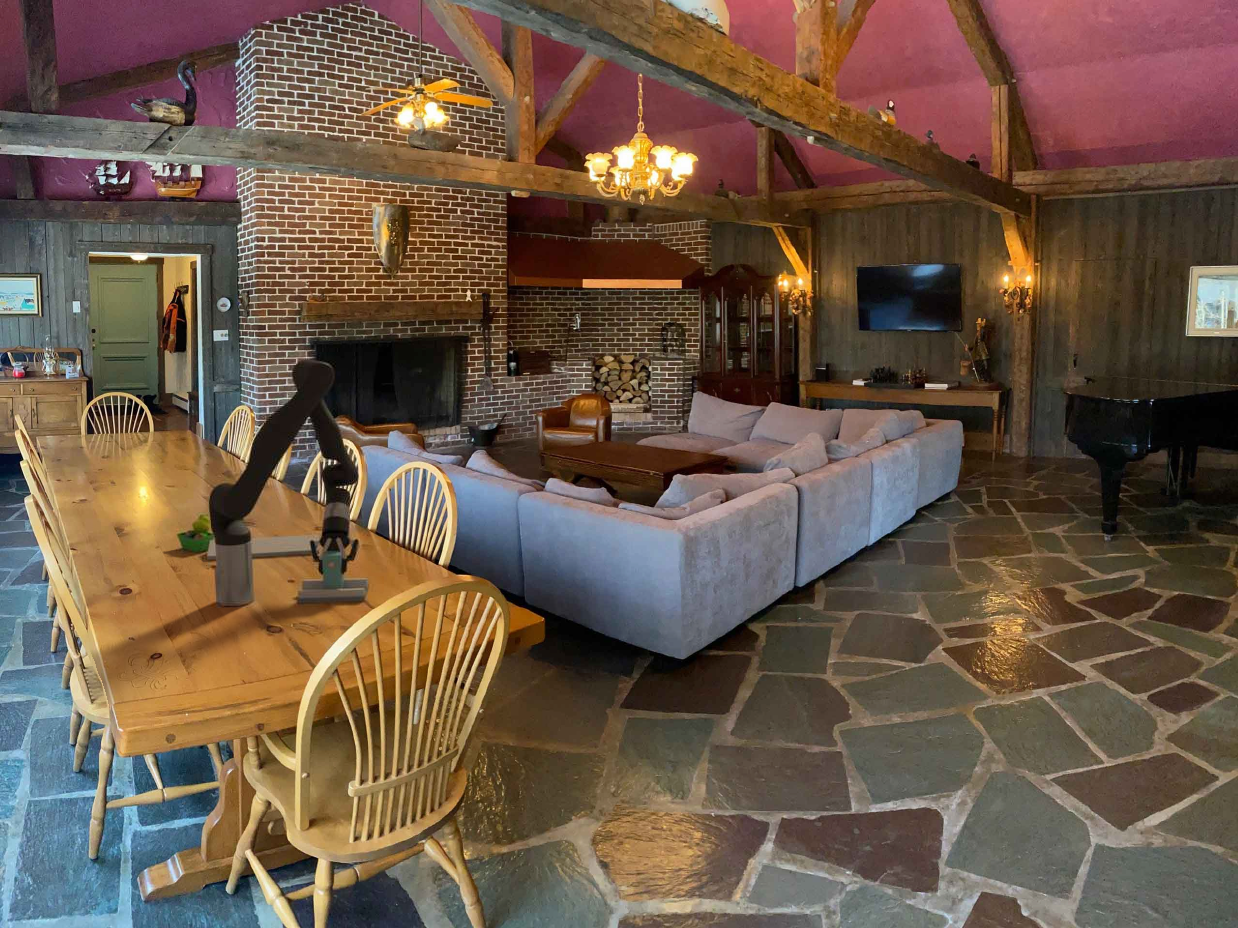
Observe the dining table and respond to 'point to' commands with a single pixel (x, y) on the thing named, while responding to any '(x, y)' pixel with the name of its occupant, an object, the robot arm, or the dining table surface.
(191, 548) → the fruit basket
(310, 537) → the light grey long block
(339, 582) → the teal cabinet block
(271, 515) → the dining table surface
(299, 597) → the cleat board
